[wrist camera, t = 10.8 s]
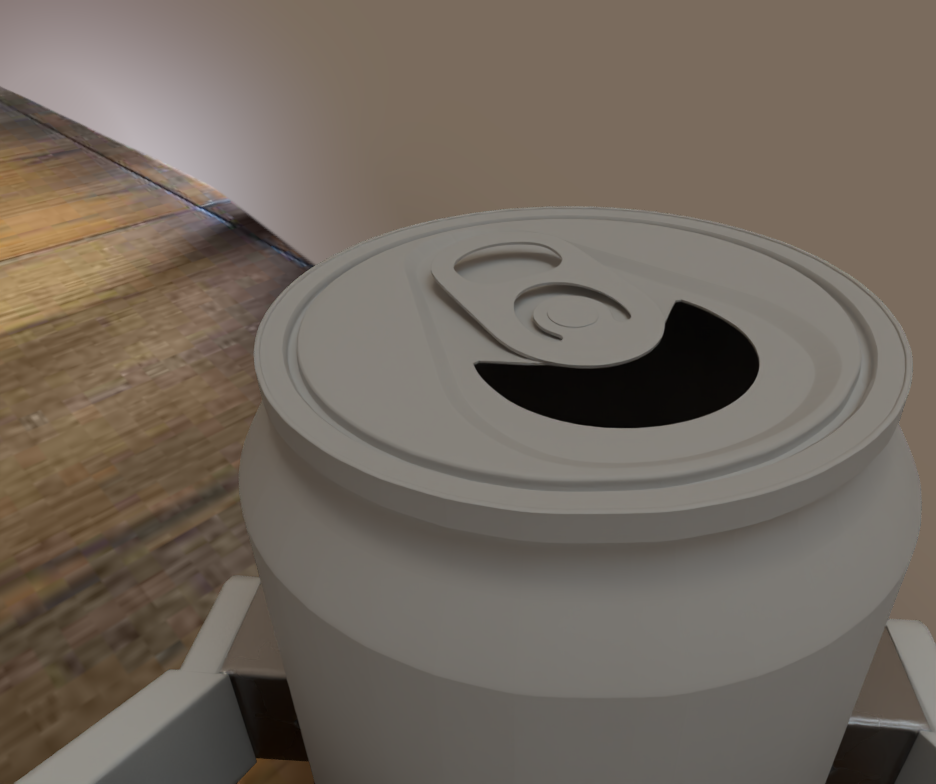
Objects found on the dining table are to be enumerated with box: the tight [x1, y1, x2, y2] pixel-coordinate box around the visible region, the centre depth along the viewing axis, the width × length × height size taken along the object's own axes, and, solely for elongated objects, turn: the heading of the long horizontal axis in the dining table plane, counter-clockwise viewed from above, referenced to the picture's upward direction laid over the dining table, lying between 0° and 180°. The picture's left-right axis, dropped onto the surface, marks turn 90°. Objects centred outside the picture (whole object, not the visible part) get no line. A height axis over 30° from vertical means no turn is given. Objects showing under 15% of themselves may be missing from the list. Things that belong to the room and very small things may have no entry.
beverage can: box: [239, 206, 922, 784], centre depth 10 cm, size 6×6×12 cm
